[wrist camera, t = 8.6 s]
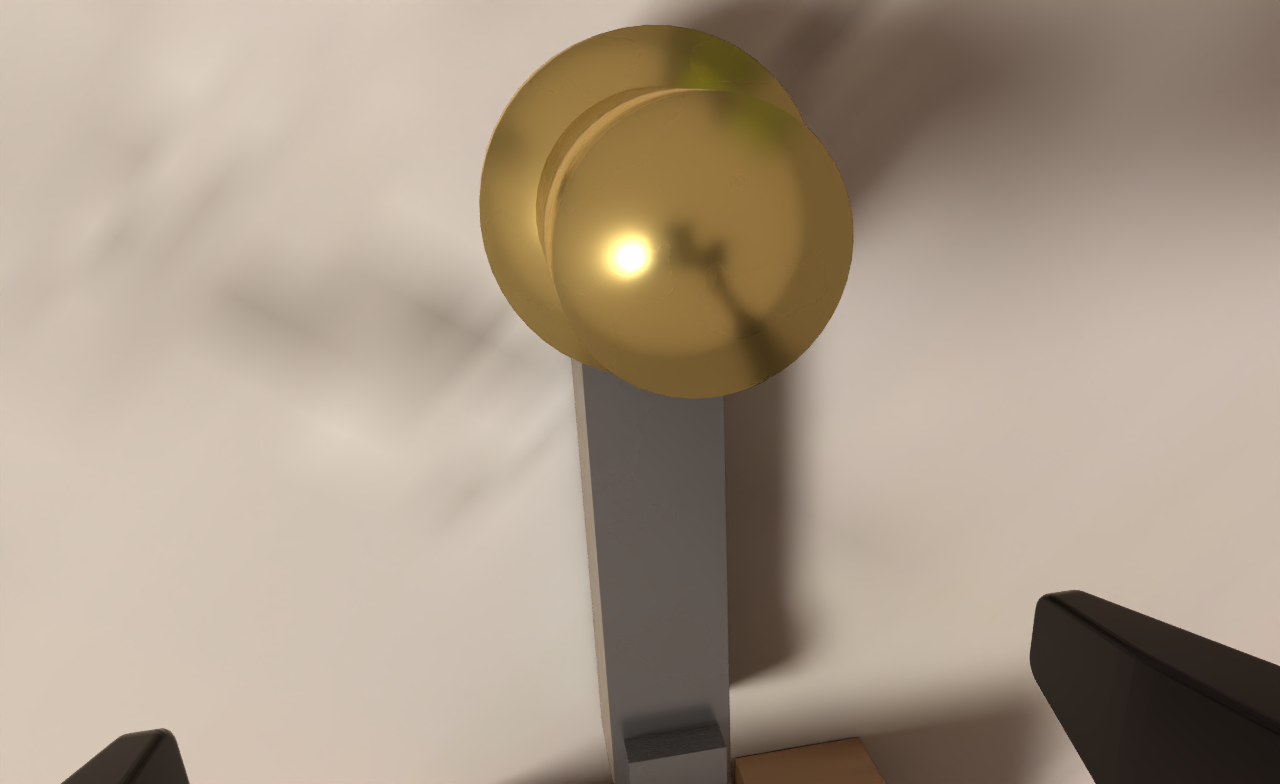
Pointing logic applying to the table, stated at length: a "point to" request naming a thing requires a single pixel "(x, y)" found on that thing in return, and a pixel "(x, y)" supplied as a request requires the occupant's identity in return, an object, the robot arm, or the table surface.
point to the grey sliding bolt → (662, 335)
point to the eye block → (810, 765)
